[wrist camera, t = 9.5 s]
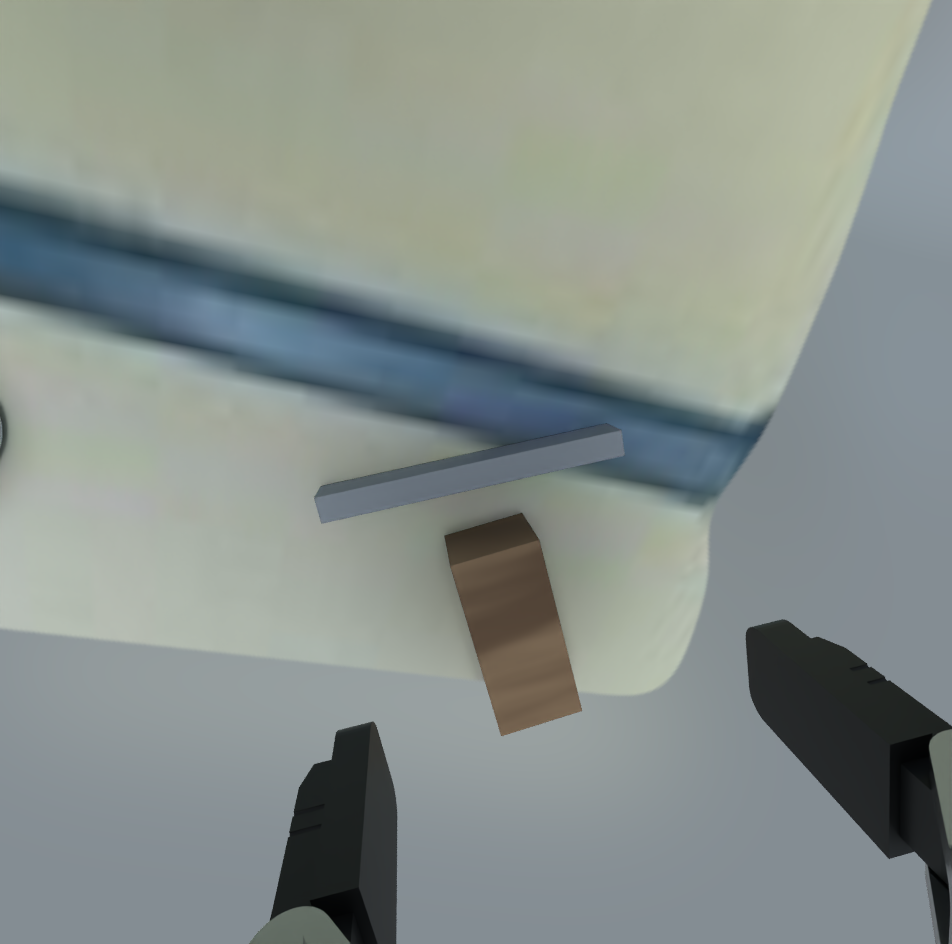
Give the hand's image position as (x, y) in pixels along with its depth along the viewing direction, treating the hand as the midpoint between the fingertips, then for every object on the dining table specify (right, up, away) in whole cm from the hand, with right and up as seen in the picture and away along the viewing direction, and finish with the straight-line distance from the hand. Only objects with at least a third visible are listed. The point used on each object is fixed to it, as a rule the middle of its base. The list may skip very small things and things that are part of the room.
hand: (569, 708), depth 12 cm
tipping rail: (-2, +5, +16) cm, 17 cm away
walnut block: (-1, +2, +15) cm, 15 cm away
